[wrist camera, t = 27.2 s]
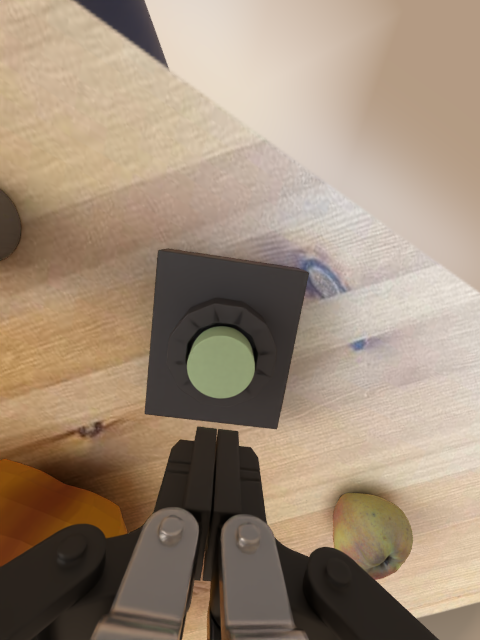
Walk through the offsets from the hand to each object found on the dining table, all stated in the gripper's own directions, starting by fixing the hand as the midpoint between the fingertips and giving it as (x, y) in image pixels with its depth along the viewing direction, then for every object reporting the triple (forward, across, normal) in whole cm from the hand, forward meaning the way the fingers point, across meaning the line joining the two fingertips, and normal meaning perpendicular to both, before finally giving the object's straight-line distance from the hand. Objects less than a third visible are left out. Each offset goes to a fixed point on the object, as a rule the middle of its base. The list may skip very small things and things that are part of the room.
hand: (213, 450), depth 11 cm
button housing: (+14, 0, 0) cm, 14 cm away
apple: (+14, -14, +15) cm, 25 cm away
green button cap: (+9, 0, 0) cm, 9 cm away
